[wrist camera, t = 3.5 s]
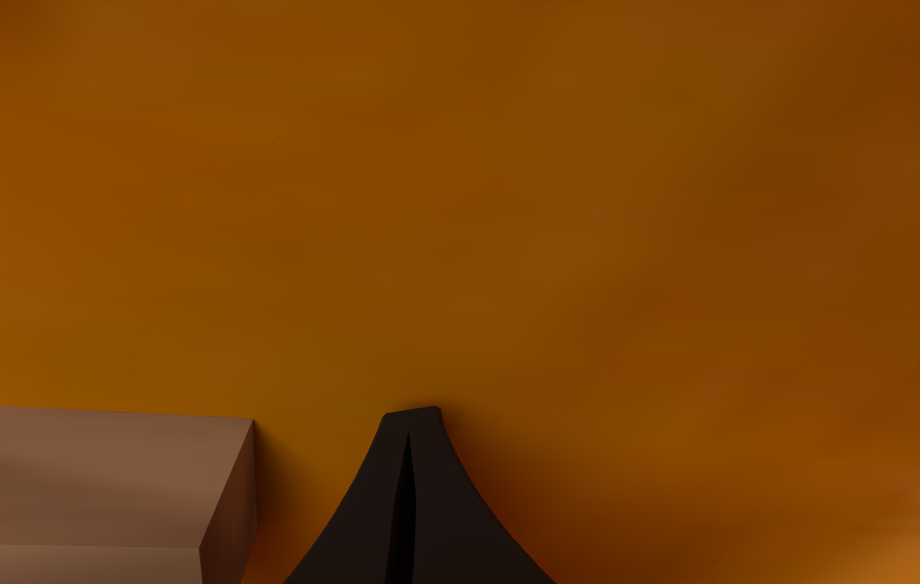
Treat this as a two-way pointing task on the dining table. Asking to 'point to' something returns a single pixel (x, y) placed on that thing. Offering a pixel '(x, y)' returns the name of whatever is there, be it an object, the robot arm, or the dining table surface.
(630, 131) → the dining table surface
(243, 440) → the rail
